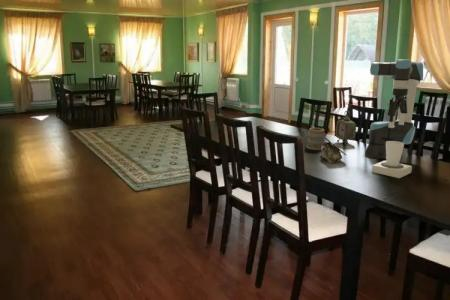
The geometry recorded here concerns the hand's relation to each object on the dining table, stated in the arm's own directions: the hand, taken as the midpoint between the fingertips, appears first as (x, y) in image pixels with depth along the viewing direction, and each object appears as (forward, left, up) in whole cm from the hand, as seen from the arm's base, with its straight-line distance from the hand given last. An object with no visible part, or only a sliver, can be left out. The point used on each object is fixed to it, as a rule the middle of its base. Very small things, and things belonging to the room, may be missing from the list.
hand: (396, 126), depth 220 cm
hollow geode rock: (-39, 0, -27) cm, 47 cm away
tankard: (-66, +20, -27) cm, 74 cm away
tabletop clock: (-57, +49, -27) cm, 80 cm away
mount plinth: (+1, 0, -27) cm, 27 cm away
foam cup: (+1, 0, -23) cm, 23 cm away
